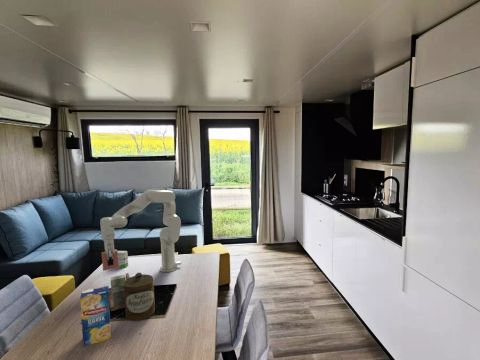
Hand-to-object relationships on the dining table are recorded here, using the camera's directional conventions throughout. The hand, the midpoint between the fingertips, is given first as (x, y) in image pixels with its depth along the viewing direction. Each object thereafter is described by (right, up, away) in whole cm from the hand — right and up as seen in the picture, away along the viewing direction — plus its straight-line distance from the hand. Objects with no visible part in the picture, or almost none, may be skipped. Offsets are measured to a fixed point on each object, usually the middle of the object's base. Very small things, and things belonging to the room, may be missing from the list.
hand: (110, 263), depth 169 cm
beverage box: (+19, -18, -50) cm, 56 cm away
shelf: (+14, -16, -15) cm, 26 cm away
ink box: (-8, -13, +34) cm, 38 cm away
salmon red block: (0, -3, 0) cm, 3 cm away
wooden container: (+31, -17, -30) cm, 46 cm away
